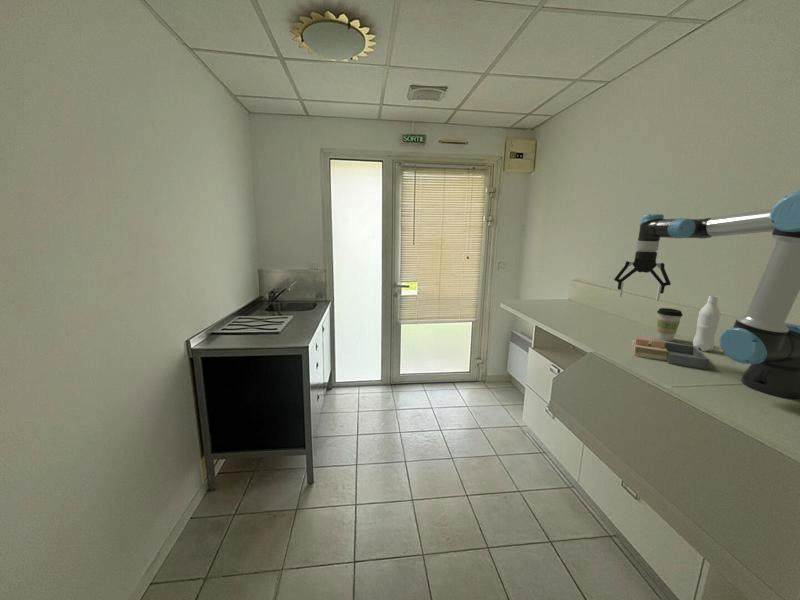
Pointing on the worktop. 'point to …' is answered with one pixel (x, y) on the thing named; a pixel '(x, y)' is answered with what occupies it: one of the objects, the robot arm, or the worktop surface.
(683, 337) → the worktop surface
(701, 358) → the tray
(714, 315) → the water bottle
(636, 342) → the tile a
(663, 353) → the board
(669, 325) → the coffee cup
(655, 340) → the tile
